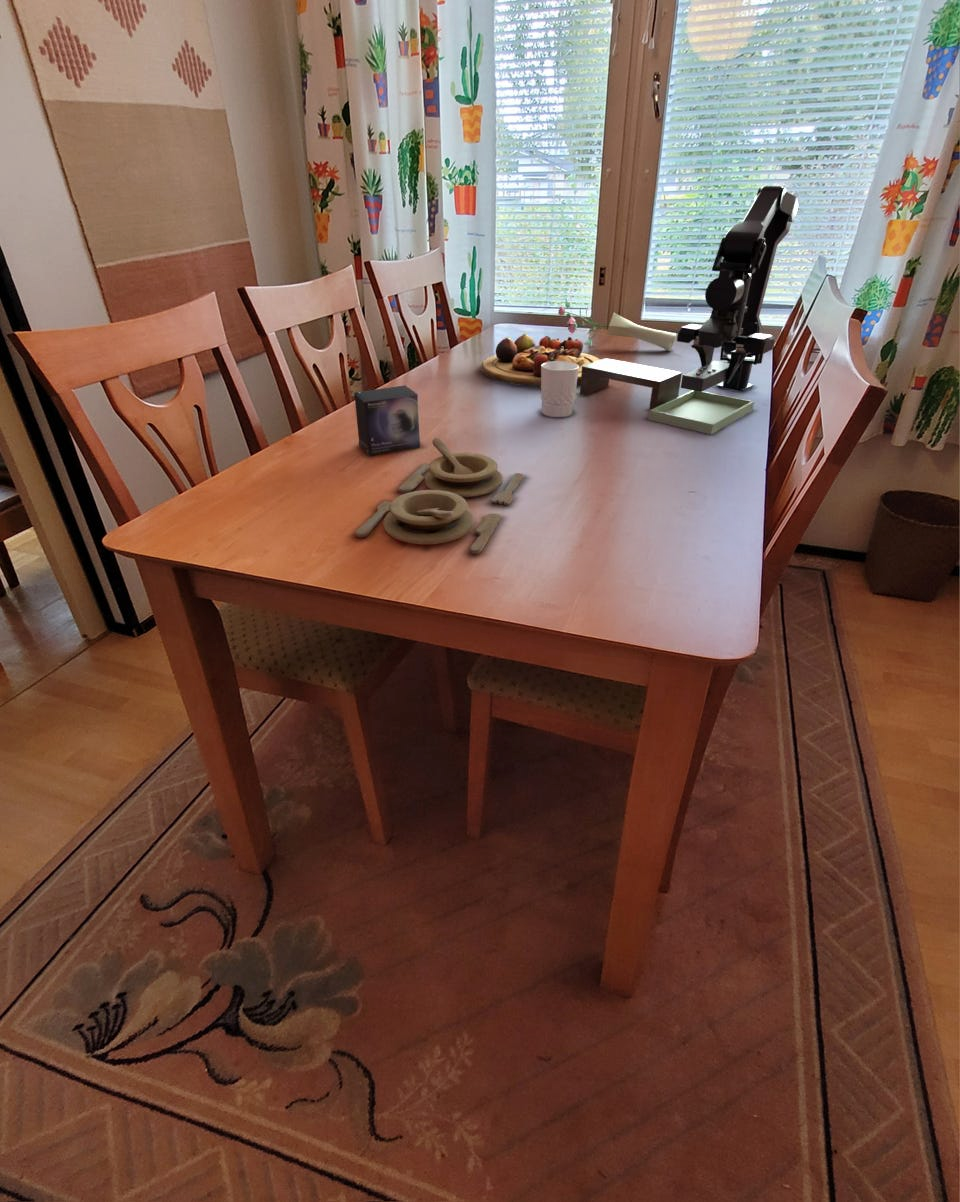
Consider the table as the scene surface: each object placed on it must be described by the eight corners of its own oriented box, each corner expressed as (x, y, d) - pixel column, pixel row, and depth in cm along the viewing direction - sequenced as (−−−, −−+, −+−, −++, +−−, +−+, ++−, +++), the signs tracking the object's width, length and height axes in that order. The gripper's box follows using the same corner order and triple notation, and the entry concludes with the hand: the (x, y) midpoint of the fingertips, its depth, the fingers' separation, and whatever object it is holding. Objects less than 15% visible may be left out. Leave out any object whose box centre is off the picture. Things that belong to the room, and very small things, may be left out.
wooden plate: (591, 394, 153) (594, 358, 148) (464, 383, 162) (463, 348, 157) (613, 361, 178) (616, 329, 173) (502, 353, 187) (502, 322, 182)
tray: (692, 398, 150) (693, 389, 149) (752, 410, 142) (754, 401, 141) (648, 419, 138) (649, 410, 136) (711, 434, 130) (713, 424, 128)
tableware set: (478, 557, 90) (478, 518, 86) (349, 538, 94) (344, 501, 91) (527, 475, 113) (528, 442, 110) (422, 463, 118) (420, 431, 115)
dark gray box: (712, 372, 142) (715, 359, 140) (733, 376, 139) (735, 362, 138) (680, 387, 133) (682, 373, 131) (701, 392, 130) (704, 377, 128)
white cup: (579, 409, 143) (583, 363, 138) (568, 420, 137) (571, 372, 132) (546, 405, 146) (548, 359, 140) (533, 415, 140) (535, 368, 135)
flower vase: (659, 379, 190) (546, 345, 194) (666, 357, 197) (557, 324, 201) (674, 343, 181) (554, 308, 184) (680, 321, 188) (565, 287, 191)
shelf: (602, 385, 159) (605, 358, 155) (677, 401, 148) (682, 372, 144) (579, 394, 153) (581, 366, 149) (655, 411, 142) (659, 381, 138)
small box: (369, 457, 121) (363, 401, 115) (358, 446, 125) (352, 391, 119) (421, 447, 125) (418, 392, 119) (409, 437, 129) (405, 384, 123)
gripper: (669, 302, 131) (658, 381, 139) (761, 313, 120) (742, 397, 129) (695, 295, 137) (682, 370, 146) (783, 305, 127) (764, 385, 136)
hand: (716, 380), depth 139 cm, fingers closed on dark gray box, 4 cm apart
